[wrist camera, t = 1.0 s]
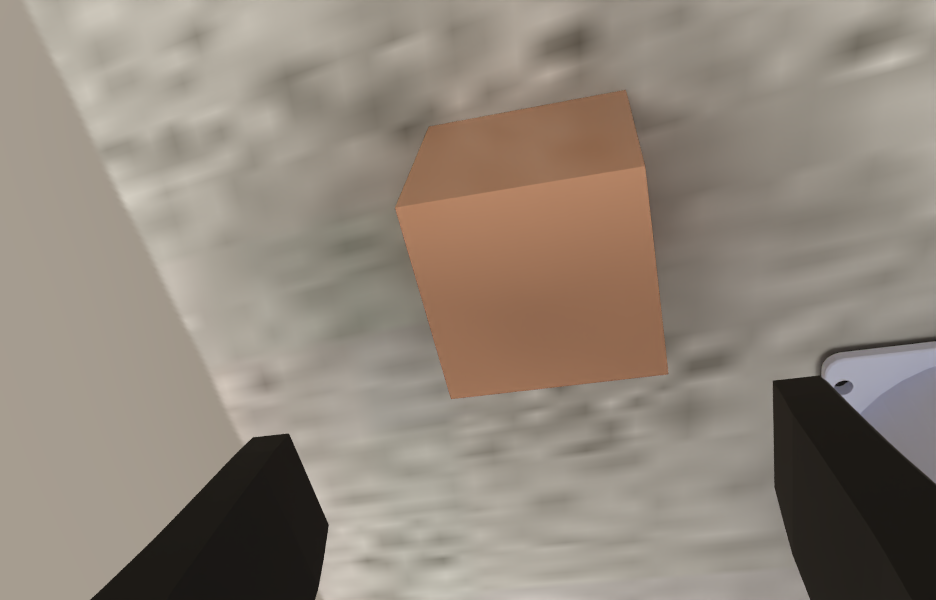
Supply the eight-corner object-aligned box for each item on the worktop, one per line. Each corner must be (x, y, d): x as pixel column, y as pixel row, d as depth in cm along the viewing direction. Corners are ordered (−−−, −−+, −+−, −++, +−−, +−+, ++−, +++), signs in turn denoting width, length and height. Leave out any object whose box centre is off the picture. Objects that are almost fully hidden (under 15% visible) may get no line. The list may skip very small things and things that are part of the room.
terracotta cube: (646, 264, 22) (668, 374, 17) (471, 289, 22) (450, 399, 18) (625, 88, 19) (644, 166, 15) (429, 125, 20) (395, 207, 16)
